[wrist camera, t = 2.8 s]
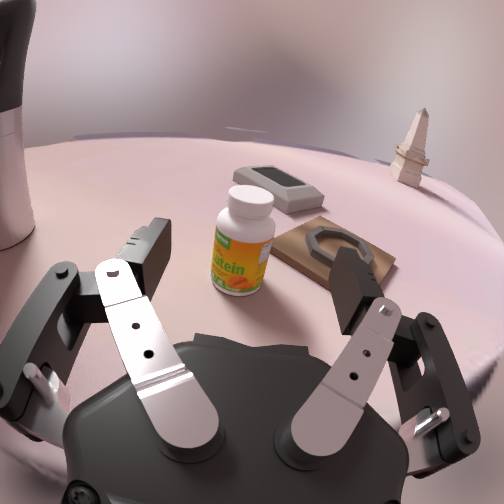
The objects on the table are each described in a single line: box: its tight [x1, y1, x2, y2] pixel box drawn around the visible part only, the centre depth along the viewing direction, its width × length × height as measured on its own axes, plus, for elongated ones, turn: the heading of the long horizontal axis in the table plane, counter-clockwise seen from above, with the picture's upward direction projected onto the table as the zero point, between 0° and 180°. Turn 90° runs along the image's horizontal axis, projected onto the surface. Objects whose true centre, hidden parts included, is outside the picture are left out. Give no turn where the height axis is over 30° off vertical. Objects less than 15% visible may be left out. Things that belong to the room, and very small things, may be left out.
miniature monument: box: [388, 108, 429, 188], centre depth 81 cm, size 10×10×30 cm
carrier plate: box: [270, 216, 396, 290], centre depth 35 cm, size 14×14×2 cm
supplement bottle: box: [211, 185, 275, 296], centre depth 26 cm, size 5×5×10 cm
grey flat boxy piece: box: [233, 165, 324, 214], centre depth 50 cm, size 10×4×15 cm
